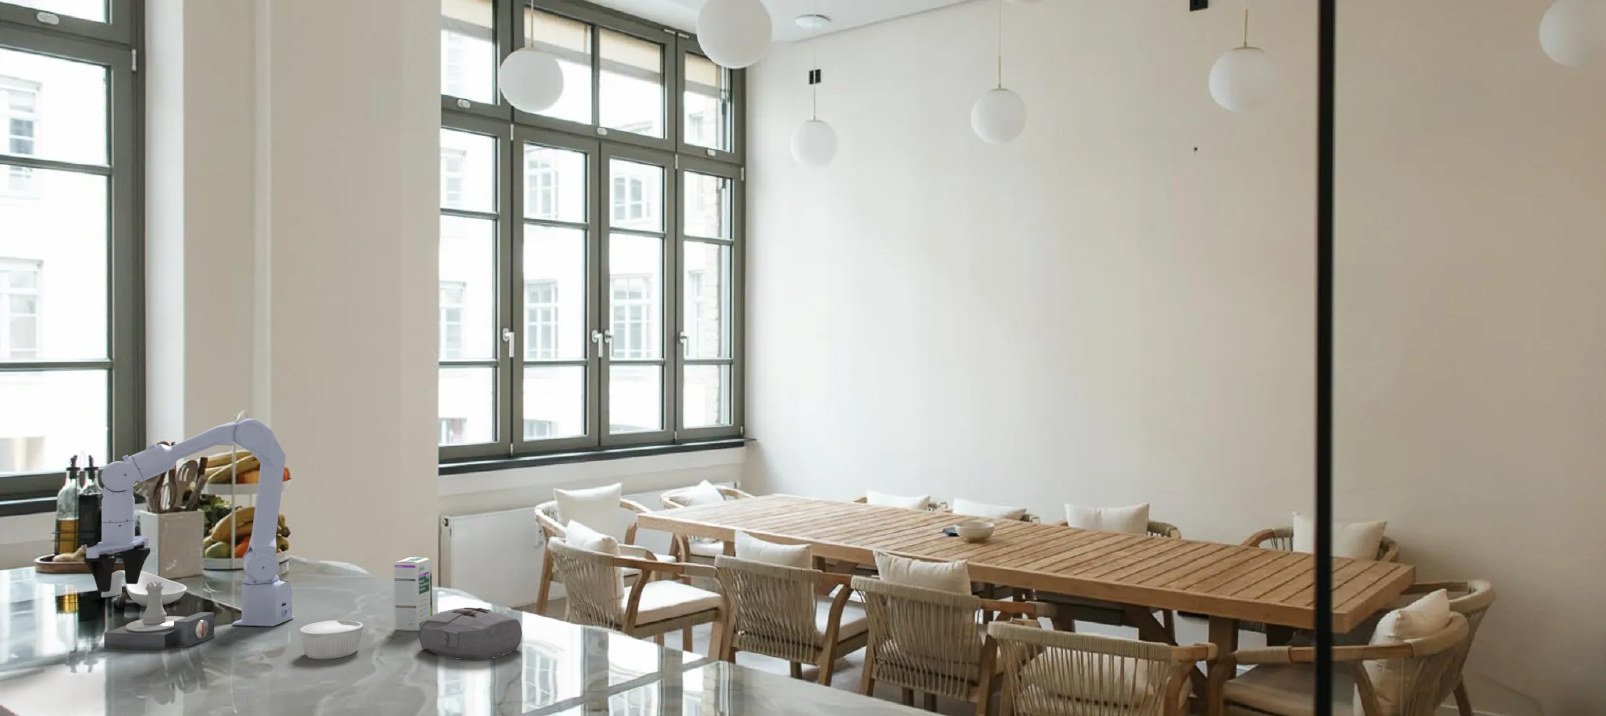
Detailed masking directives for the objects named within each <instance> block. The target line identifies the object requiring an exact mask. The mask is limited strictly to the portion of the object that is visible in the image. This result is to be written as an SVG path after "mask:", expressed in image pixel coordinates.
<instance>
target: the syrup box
mask: <svg viewBox="0 0 1606 716" xmlns="http://www.w3.org/2000/svg"><path fill="white" fill-rule="evenodd" d="M432 562H433V560H432V558H431V557H424V556H413V557H409V556H408V557H407V558H403V559H402V560H399V561H395V562H393V603H394V604H393V609H394V610H393V611H394V612H393V614H394V615H393V616H394V618H393V619H394V624H393V625H394V630H398V631H404V632H405V631H409V632H419V631H420V627H421V625H422V624H423V622H424V621H426V620H427V619H428V618H429V617H431V616H432V615H433V570H432V568H433V567H432Z"/></svg>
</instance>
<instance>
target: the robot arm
mask: <svg viewBox="0 0 1606 716" xmlns="http://www.w3.org/2000/svg"><path fill="white" fill-rule="evenodd" d="M235 444H237V445H238V446H240V447H241V448H243V449H245V450H246V451H249V452H250V453H251V454H252V456H254V457H255V458H256V460H258V462H259V464H260V466H259V474H258V480H257V481H258V482H257V490H256V496H255V506H254V514H253V523H252V528H251V529H252V530H251V536H250V538H249V542H248V547H247V550H246V551H245V553H244V555H243V556H242V558H241V559H242V560H241V566H242V570H244V572H246V574H245V575H244V577H243V578H242V579H241V618H240V619H239V620H236V621H234V622H232V626H246V627H247V626H250V627H251V626H252V627H253V626H254V627H255V626H256V627H275V626H278V625H280V624H282V623H285V622H287V621H289V620H292V619H294V618H295V615H293V590H292V589H293V588H292V586H291V584H290V583H288V582H286V581H282V580H280V576H279V575H278V573H279V571H280V562H279V560H278V557H277V532H278V531H277V529H278V522H279V513H280V505H281V497H282V490H283V481H284V474H285V467H286V465H285V464H286V453H285V452H284V450H283V448H282V447H281V445H280V444H279V441H278V439H277V438H276V436H275V434H274V432H273V430H272V429H271V428H269V427H268V426H267V425H265V424H264V423H263V422H262V421H260V420H256V419H255V418H252V417H243V418H241V419H238V420H237V421H231V422H230V421H229V422H227V423H223V424H220V425H216V426H214V427H211V428H210V429H208V430H205V431H203V432H200V433H199V434H196V435H194V436H191V437H190V438H186V439H185V440H183V441H180V442H178V443H176V444H173V445H172V446H169V445H166V444H163V443H158V444H156V445H155V444H154V443H151V444H149V445H147V447H146V448H147V449H144V450H142V451H138V452H137V453H134V454H132V455H130V456H129V455H128V454H126V455H124V456H122V460H123V461H122V460H121V461H118V460H117V461H113V462H110V463H108V464H107V465H106V466H105V467H104V468H103V469H102V472H101V475H100V479H101V482H102V484H103V489H102V491H101V492H102V499H101V541H99V542H97V544H96V545H94V546H90V547H87V548H86V551H85V552H86V556H85V557H84V563H85V564H86V566H87V567H88V569H89V570H90V572H91V574H92V576H93V579H94V582H95V585H96V589H97V592H99V593H102V592H109V591H110V588H111V579H112V573H114V572H113V571H114V567H115V564H116V562H117V559H118V558H117V557H110V556H109V555H112V554H116V553H120V556H121V559H122V562H123V566H124V568H123V569H124V571H125V577H124V581H125V580H126V584H137V583H138V580H139V576H140V573H141V571H143V567H144V564H145V563H146V560H147V558H148V556H150V553H151V548H150V547H148V546H149V537H148V536H137V537H136V536H135V535H136V533H135V529H136V527H135V526H136V522H135V521H136V520H135V518H136V517H135V516H136V513H135V511H136V507H135V506H136V505H135V504H136V503H135V502H136V501H135V500H136V499H135V497H134V485H135V484H136V482H144V481H146V480H149V479H151V478H154V477H156V476H159V475H161V474H163V473H166V472H168V471H171V470H173V469H174V467H175V465H176V464H177V461H178V460H181V459H183V458H186V457H189V456H192V455H195V454H197V453H199V452H201V451H205V450H207V449H210V448H212V447H215V446H227V447H228V446H229V447H233V446H234V445H235Z"/></svg>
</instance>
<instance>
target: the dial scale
mask: <svg viewBox="0 0 1606 716" xmlns="http://www.w3.org/2000/svg"><path fill="white" fill-rule="evenodd" d="M165 617H166V618H167V620H166V621H165V622H164V623H161V624H154V625H145V624H143V622H142V621H143V620H144V619H143V618H142V619H138V620H134V621H131V622H129V623H127V624H126V625H123V626H120V627H117V628H114V629H111V630H109V631H108V630H107V631H105V632H103V634H104V635H103V639H104V641H103V642H104V643H103V648H105V649H128V650H155V651H156V650H158V651H160V650H161V651H167V650H169V649H171V648H189V647H191V646H194V645H197V644H199V643H202V642H205V641H208V640H210V639H212V638H215V612H211V611H210V612H208V611H206V612H205V611H200V612H197V613H195V614H194V613H193V614H192V615H189V616H180V615H179V616H177V615H171V616H167V615H166V616H165Z"/></svg>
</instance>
